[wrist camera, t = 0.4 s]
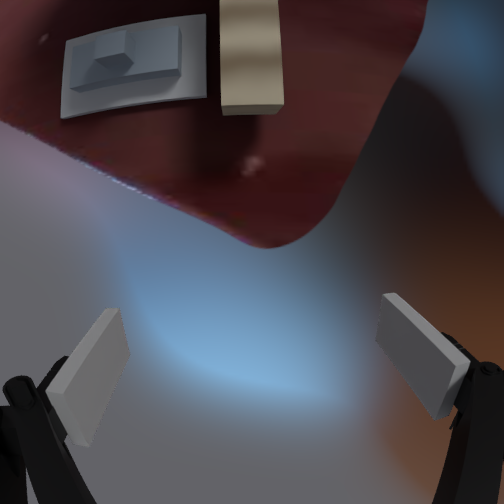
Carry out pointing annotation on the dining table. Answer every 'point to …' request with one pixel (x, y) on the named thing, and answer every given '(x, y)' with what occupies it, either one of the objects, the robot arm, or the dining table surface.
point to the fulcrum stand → (135, 65)
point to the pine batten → (250, 57)
